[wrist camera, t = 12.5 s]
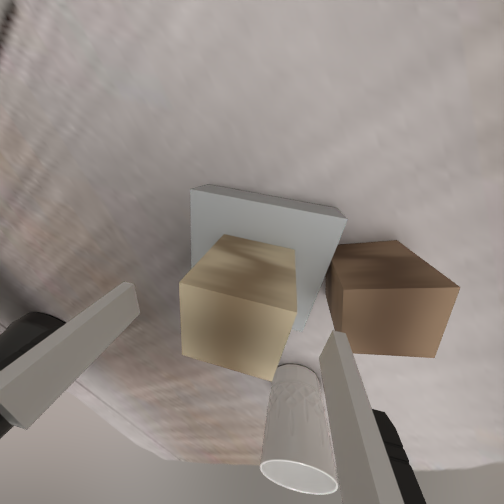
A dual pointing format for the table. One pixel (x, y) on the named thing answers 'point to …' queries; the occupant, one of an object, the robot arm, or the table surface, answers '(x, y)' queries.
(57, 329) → the robot arm
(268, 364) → the maple block
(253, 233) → the grey block
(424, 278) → the walnut block
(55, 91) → the table surface
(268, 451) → the white cup
